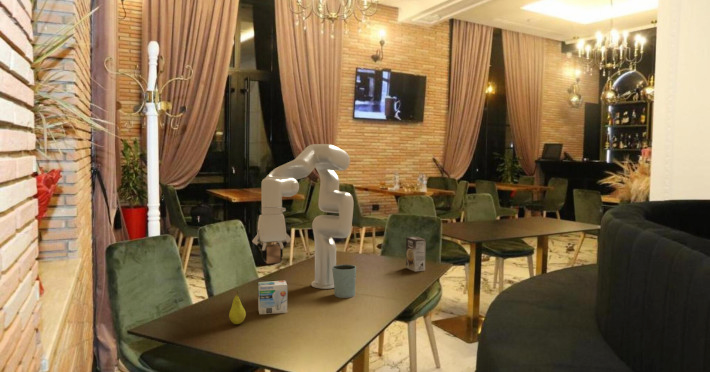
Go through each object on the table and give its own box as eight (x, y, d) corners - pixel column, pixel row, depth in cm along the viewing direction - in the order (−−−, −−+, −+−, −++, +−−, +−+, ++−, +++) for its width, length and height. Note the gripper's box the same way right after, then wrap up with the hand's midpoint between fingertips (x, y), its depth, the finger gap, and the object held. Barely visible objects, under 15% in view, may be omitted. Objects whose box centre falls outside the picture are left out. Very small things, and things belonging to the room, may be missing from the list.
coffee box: (405, 267, 264) (405, 236, 263) (416, 266, 267) (416, 236, 266) (414, 271, 256) (415, 239, 255) (425, 270, 259) (426, 238, 258)
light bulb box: (259, 315, 189) (258, 286, 189) (257, 309, 196) (257, 281, 195) (288, 312, 192) (288, 284, 191) (285, 307, 199) (285, 279, 198)
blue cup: (353, 299, 210) (353, 270, 209) (329, 297, 212) (329, 268, 211) (358, 292, 219) (358, 264, 219) (335, 290, 222) (335, 263, 221)
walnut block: (276, 259, 196) (276, 243, 195) (280, 262, 191) (280, 246, 191) (263, 260, 194) (263, 244, 193) (267, 263, 189) (267, 247, 189)
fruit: (238, 319, 184) (238, 287, 183) (249, 323, 180) (248, 289, 179) (225, 324, 179) (225, 290, 178) (236, 327, 176) (235, 293, 175)
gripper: (291, 209, 198) (291, 256, 199) (246, 211, 191) (247, 259, 192) (296, 211, 191) (296, 259, 192) (251, 213, 184) (251, 263, 186)
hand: (272, 259), depth 192 cm, fingers closed on walnut block, 5 cm apart
